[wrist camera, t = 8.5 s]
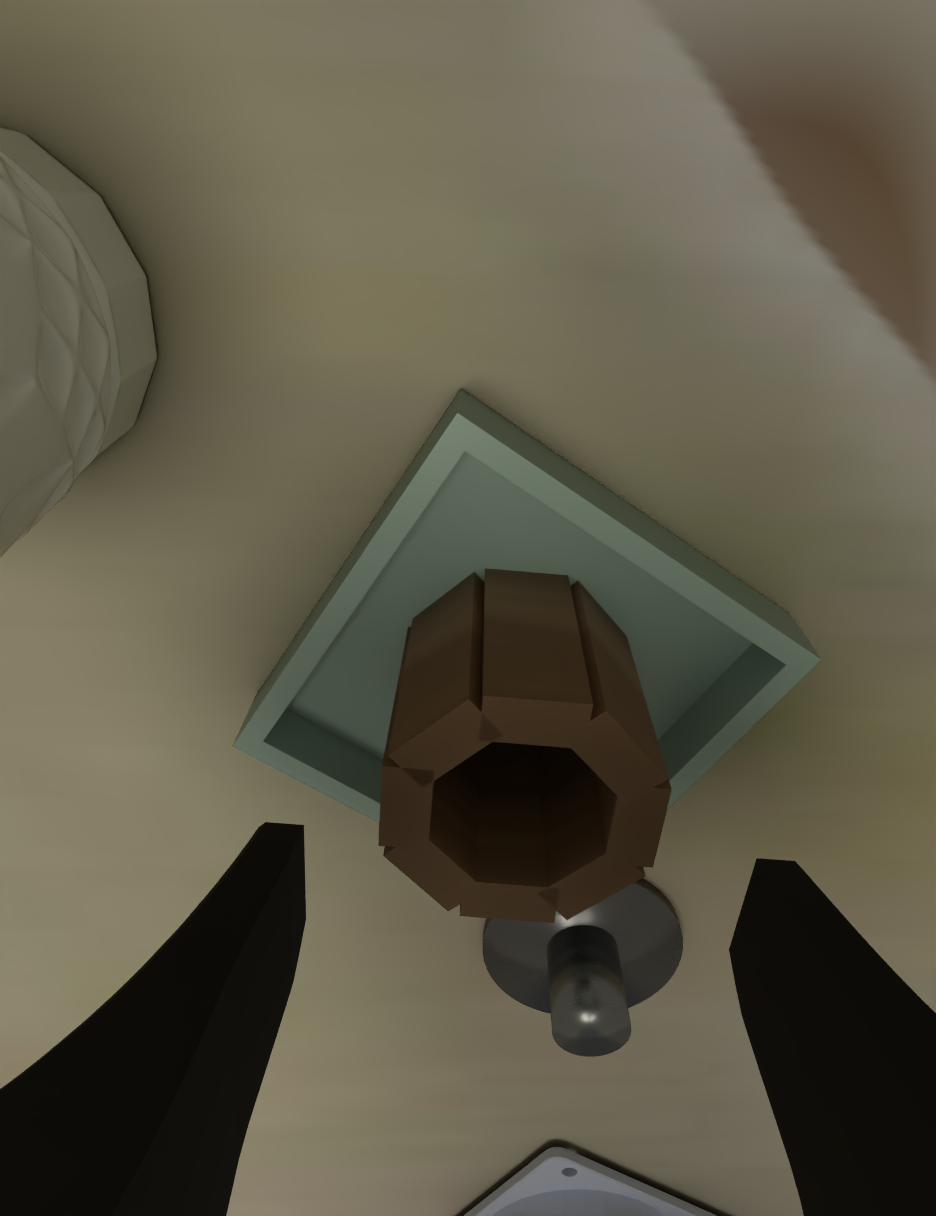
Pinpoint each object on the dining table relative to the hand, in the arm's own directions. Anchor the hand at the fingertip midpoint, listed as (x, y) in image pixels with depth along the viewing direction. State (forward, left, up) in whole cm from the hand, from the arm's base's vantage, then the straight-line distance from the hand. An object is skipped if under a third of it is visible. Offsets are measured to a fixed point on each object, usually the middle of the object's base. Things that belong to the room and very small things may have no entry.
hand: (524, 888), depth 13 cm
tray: (0, 0, -7) cm, 7 cm away
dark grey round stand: (-7, +6, -7) cm, 12 cm away
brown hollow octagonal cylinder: (0, 0, -7) cm, 7 cm away
